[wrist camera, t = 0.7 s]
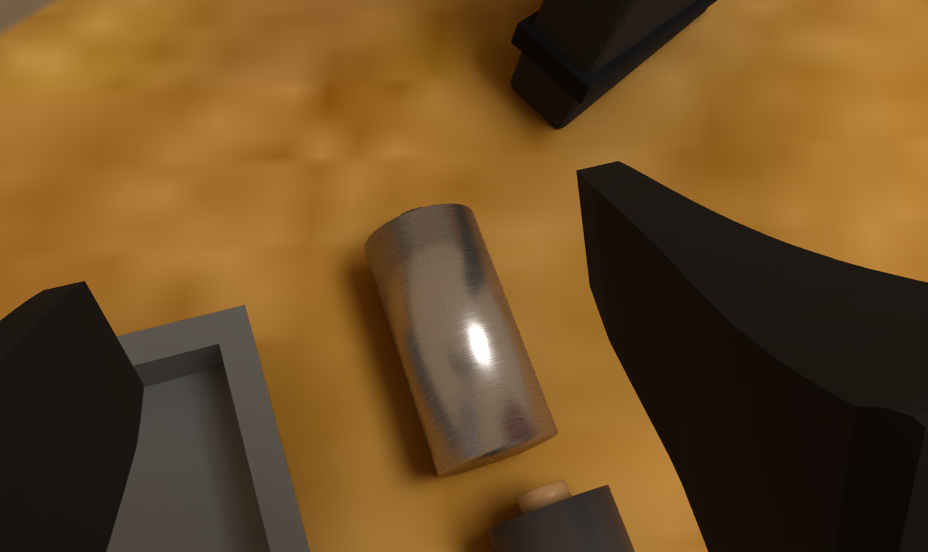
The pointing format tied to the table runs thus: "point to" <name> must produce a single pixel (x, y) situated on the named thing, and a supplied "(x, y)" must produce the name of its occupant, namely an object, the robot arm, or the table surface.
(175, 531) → the bin
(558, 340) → the table surface
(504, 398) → the silver cell
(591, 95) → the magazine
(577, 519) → the cylinder
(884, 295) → the robot arm
